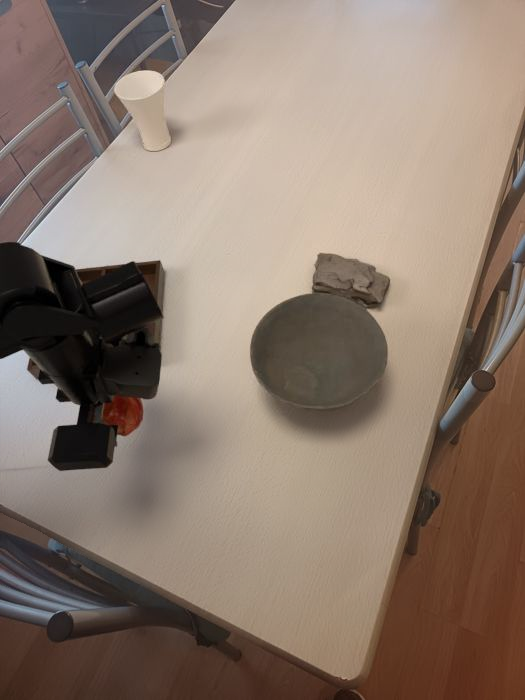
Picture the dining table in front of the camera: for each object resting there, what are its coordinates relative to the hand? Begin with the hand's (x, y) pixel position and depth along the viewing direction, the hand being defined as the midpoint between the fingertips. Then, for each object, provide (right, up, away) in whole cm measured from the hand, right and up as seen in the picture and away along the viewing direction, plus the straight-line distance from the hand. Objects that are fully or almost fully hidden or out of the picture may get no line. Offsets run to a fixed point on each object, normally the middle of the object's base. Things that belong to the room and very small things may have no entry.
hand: (117, 417), depth 63 cm
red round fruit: (0, -1, +1) cm, 2 cm away
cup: (-5, +56, +50) cm, 75 cm away
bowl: (+27, +4, +14) cm, 31 cm away
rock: (+33, +19, +23) cm, 45 cm away
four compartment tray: (-9, +13, +24) cm, 29 cm away
